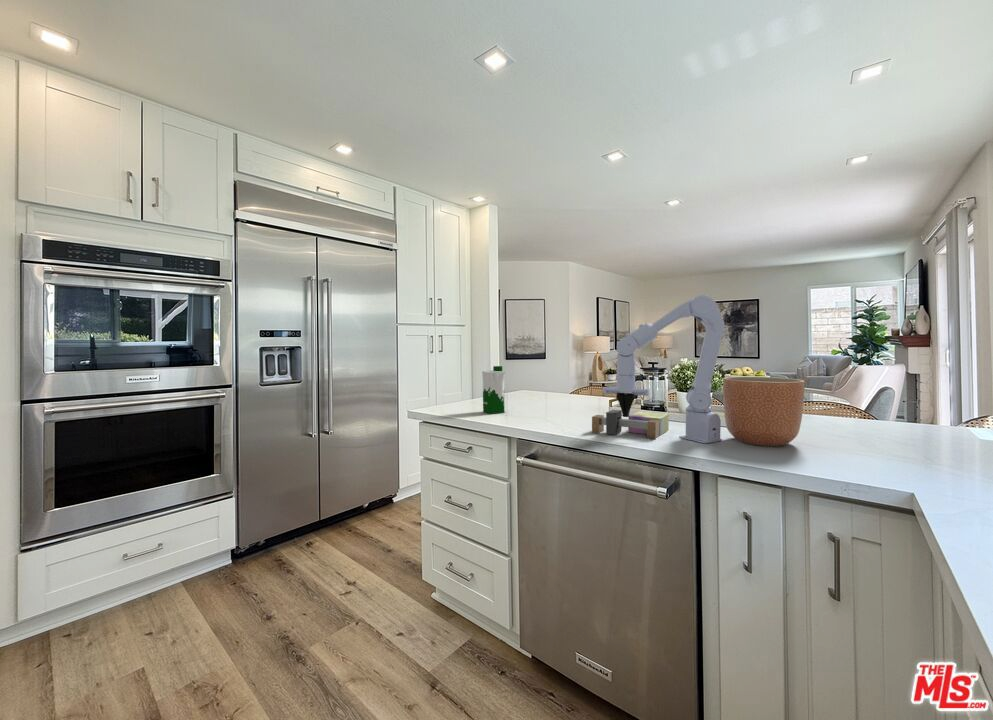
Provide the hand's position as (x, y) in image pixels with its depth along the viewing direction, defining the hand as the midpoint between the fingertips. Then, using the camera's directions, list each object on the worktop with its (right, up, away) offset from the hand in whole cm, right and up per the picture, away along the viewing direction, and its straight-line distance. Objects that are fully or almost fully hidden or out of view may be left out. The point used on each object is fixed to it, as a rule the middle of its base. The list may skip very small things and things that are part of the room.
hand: (625, 416), depth 142 cm
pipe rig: (0, -6, 0) cm, 6 cm away
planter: (+37, -6, -11) cm, 39 cm away
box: (+13, -3, +11) cm, 17 cm away
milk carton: (-44, -5, +48) cm, 65 cm away
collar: (-3, -6, +2) cm, 7 cm away
